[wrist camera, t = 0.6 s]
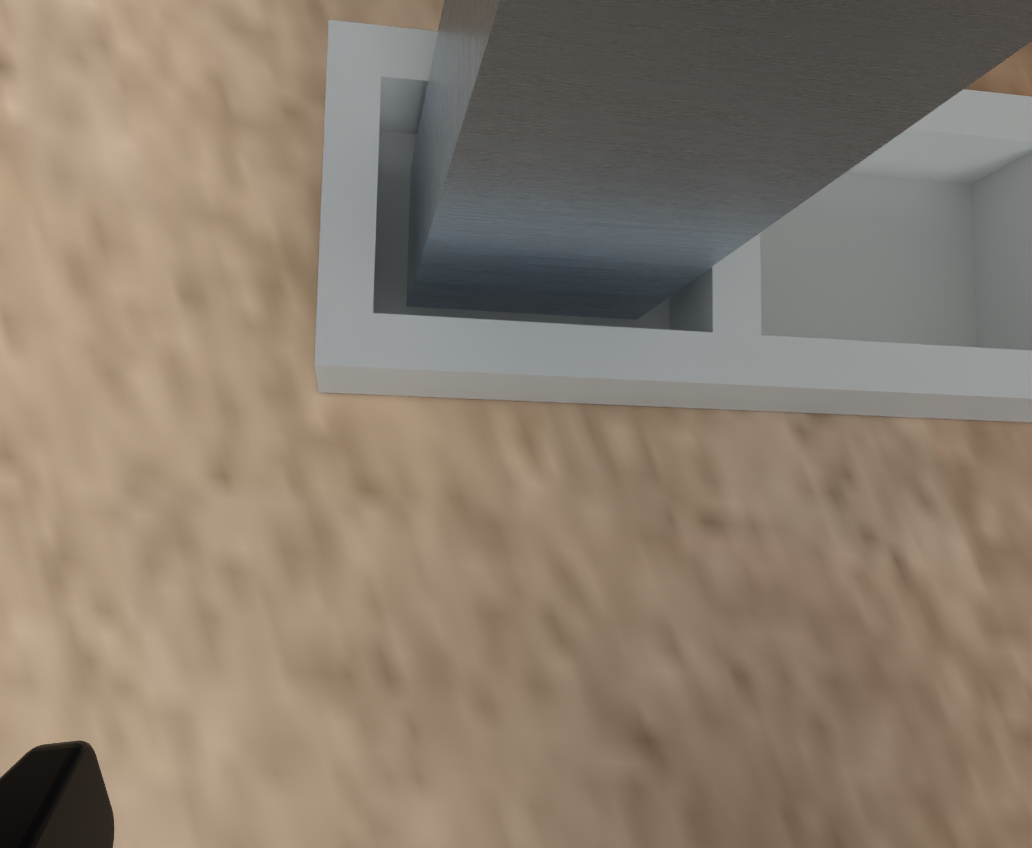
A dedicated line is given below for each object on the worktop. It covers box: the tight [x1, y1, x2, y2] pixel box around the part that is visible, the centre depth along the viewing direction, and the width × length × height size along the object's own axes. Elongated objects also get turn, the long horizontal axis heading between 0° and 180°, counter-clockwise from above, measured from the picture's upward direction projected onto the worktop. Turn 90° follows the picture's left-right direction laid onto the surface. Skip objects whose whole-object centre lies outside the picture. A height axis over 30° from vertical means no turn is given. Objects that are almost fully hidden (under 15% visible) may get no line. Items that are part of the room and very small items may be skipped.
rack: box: [314, 20, 1032, 422], centre depth 20 cm, size 7×24×6 cm, turn 89°
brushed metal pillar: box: [406, 0, 1032, 320], centre depth 14 cm, size 3×5×13 cm, turn 89°
